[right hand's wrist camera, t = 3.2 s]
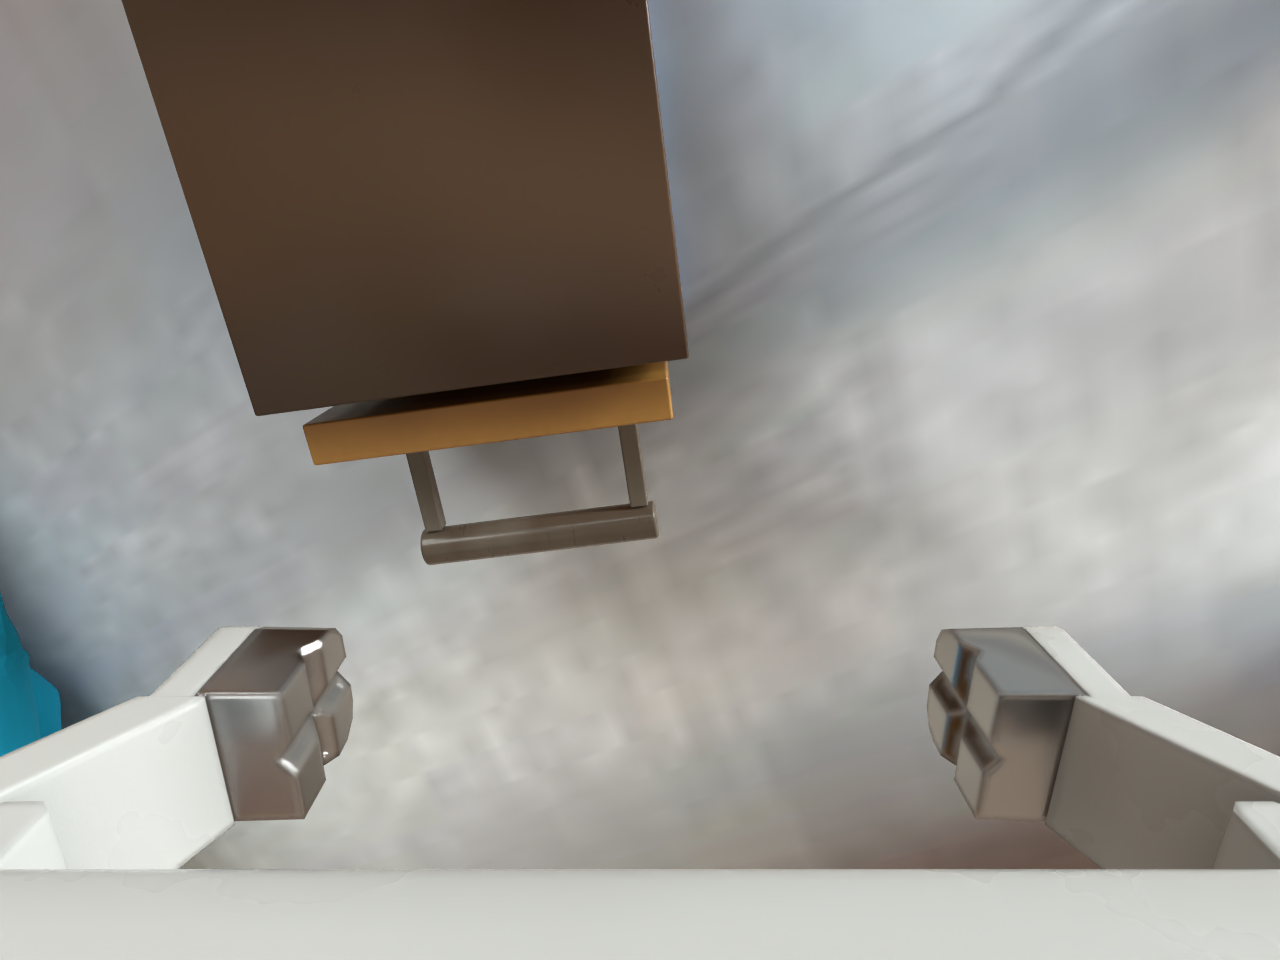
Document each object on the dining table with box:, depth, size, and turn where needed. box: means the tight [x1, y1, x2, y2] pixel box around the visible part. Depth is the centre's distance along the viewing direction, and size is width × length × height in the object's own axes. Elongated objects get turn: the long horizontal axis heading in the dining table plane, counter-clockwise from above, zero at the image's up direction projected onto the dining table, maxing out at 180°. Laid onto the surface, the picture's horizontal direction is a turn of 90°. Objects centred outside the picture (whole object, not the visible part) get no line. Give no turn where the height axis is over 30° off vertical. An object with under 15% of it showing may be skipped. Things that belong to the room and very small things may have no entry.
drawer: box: [303, 361, 673, 565], centre depth 23 cm, size 22×10×9 cm, turn 8°
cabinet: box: [122, 0, 689, 416], centre depth 21 cm, size 18×11×11 cm, turn 8°
